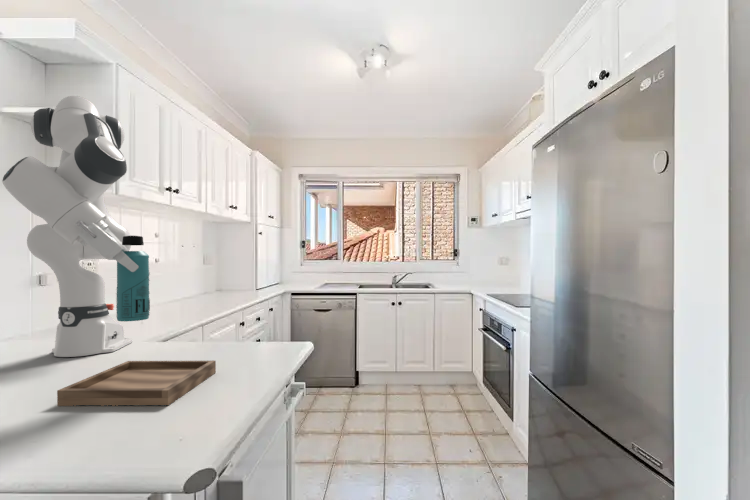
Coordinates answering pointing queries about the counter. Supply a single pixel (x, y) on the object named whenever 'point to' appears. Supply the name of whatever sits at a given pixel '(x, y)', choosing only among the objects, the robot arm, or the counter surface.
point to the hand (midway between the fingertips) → (136, 269)
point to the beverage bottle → (133, 284)
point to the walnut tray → (138, 383)
